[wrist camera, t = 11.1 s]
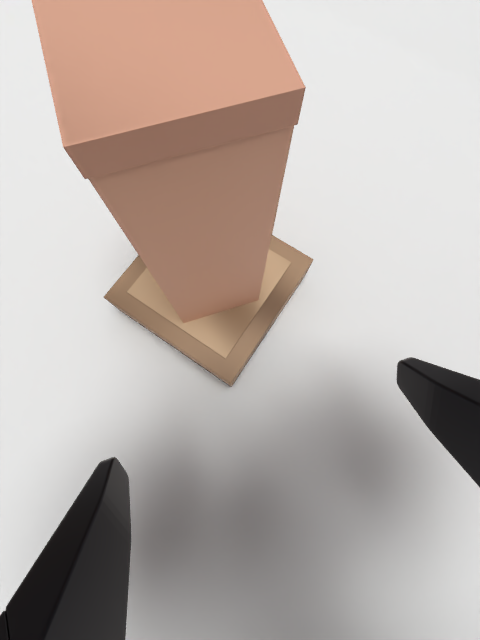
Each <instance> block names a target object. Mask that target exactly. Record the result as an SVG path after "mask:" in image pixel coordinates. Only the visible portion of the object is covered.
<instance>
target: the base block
mask: <svg viewBox="0 0 480 640" xmlns="http://www.w3.org/2000/svg"><path fill="white" fill-rule="evenodd" d="M312 261H313V259H312V258H310V257H308V256H307V255H305V254H303V253H302V252H300V251H298V250H296V249H295V248H293V247H291V246H290V245H288V244H286V243H285V242H283V241H281V240H280V239H278V238H276V237H275V236H273V235H272V236H271V241H270V246H269V251H268V256H267V261H266V266H265V271H264V276H263V281H262V285H261V290H260V295H259V300H257V301H254V302H251V303H248V304H244V305H241V306H238V307H235V308H231V309H228V310H225V311H222V312H218V313H215V314H212V315H209V316H205V317H202V318H199V319H196V320H192V321H189V322H186V323H183V321H182V320H181V318H180V317H179V315H178V314H177V312H176V311H175V309H174V308H173V306H172V305H171V303H170V302H169V300H168V299H167V297H166V295H165V294H164V292H163V291H162V289H161V288H160V286H159V285H158V283H157V282H156V280H155V279H154V277H153V276H152V274H151V273H150V271H149V270H148V268H147V267H146V265H145V264H144V262H143V261H142V259H141V258H140V256H139V255H138V257H137V258H136V259H135V260H134V261H133V263H132V264H131V265H130V266H129V267H128V269H127V270H126V271H125V272H124V273H123V274H122V276H121V277H120V278H119V279H118V280H117V282H116V283H115V284H114V285H113V286H112V288H111V289H110V290H109V291H108V292H107V294H106V295H105V296H104V298H105V299H106V300H108V301H109V302H110V303H111V304H113V305H114V306H115V307H116V308H118V309H119V310H120V311H122V312H123V313H125V314H126V315H128V316H129V317H130V318H132V319H133V320H135V321H136V322H138V323H139V324H141V325H142V326H144V327H145V328H146V329H148V330H149V331H151V332H152V333H154V334H155V335H157V336H158V337H160V338H161V339H162V340H164V341H165V342H167V343H168V344H170V345H171V346H173V347H174V348H176V349H177V350H178V351H180V352H181V353H183V354H184V355H186V356H187V357H189V358H190V359H192V360H193V361H194V362H196V363H197V364H199V365H200V366H202V367H203V368H205V369H206V370H208V371H209V372H210V373H212V374H213V375H215V376H216V377H218V378H219V379H221V380H222V381H224V382H225V383H226V384H228V385H229V386H231V387H232V385H233V383H234V382H235V380H236V379H237V377H238V376H239V374H240V373H241V371H242V370H243V368H244V367H245V365H246V364H247V362H248V361H249V359H250V358H251V356H252V355H253V353H254V352H255V350H256V349H257V347H258V346H259V344H260V343H261V341H262V340H263V338H264V337H265V335H266V334H267V332H268V331H269V329H270V328H271V326H272V325H273V323H274V322H275V320H276V319H277V317H278V316H279V314H280V313H281V311H282V310H283V308H284V307H285V305H286V304H287V302H288V301H289V299H290V298H291V296H292V294H293V293H294V291H295V290H296V288H297V287H298V285H299V284H300V282H301V281H302V279H303V278H304V276H305V275H306V273H307V271H308V269H309V267H310V265H311V263H312Z"/></svg>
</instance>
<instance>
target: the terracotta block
mask: <svg viewBox="0 0 480 640" xmlns="http://www.w3.org/2000/svg"><path fill="white" fill-rule="evenodd" d="M32 4H33V8H34V13H35V18H36V22H37V27H38V32H39V36H40V41H41V46H42V50H43V55H44V60H45V64H46V69H47V73H48V78H49V83H50V87H51V92H52V97H53V101H54V106H55V111H56V115H57V120H58V124H59V129H60V134H61V138H62V143H63V147H64V149H65V150H66V152H67V153H68V155H69V156H70V158H71V159H72V161H73V162H74V164H75V165H76V167H77V168H78V169H79V171H80V172H81V174H82V175H83V177H84V178H85V179H87V178H88V179H89V180H90V182H91V183H92V185H93V186H94V188H95V189H96V191H97V192H98V194H99V195H100V197H101V198H102V200H103V201H104V203H105V205H106V206H107V208H108V209H109V211H110V212H111V214H112V215H113V217H114V218H115V220H116V221H117V223H118V224H119V226H120V227H121V229H122V230H123V232H124V233H125V235H126V236H127V238H128V239H129V241H130V242H131V244H132V245H133V247H134V248H135V250H136V252H137V253H138V255H139V256H140V258H141V259H142V261H143V262H144V264H145V265H146V267H147V268H148V270H149V271H150V273H151V274H152V276H153V277H154V279H155V280H156V282H157V283H158V285H159V286H160V288H161V289H162V291H163V292H164V294H165V295H166V297H167V299H168V300H169V302H170V303H171V305H172V306H173V308H174V309H175V311H176V312H177V314H178V315H179V317H180V318H181V320H182V321H183V323H186V322H189V321H192V320H196V319H199V318H202V317H205V316H209V315H212V314H215V313H218V312H222V311H225V310H228V309H231V308H235V307H238V306H241V305H244V304H248V303H251V302H254V301H257V300H259V295H260V290H261V285H262V281H263V276H264V271H265V266H266V261H267V256H268V251H269V246H270V241H271V236H272V231H273V227H274V222H275V217H276V212H277V207H278V202H279V197H280V192H281V187H282V182H283V177H284V173H285V168H286V163H287V158H288V153H289V148H290V143H291V138H292V133H293V128H294V125H297V124H298V120H299V115H300V111H301V106H302V101H303V97H304V92H305V86H304V84H303V82H302V80H301V78H300V76H299V74H298V72H297V70H296V67H295V65H294V63H293V61H292V59H291V57H290V55H289V53H288V51H287V49H286V47H285V45H284V43H283V41H282V39H281V37H280V35H279V33H278V31H277V29H276V27H275V25H274V23H273V21H272V19H271V17H270V15H269V13H268V11H267V9H266V7H265V5H264V3H263V1H262V0H32Z"/></svg>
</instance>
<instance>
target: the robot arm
mask: <svg viewBox="0 0 480 640" xmlns="http://www.w3.org/2000/svg"><path fill="white" fill-rule="evenodd" d="M397 384H398V386H399V388H400V389H401V391H402V392H403V394H404V395H405V396H406V398H407V399H408V401H409V402H410V403H411V405H412V406H413V408H414V409H415V410H416V412H417V413H418V415H419V416H420V417H421V419H422V420H423V422H424V423H425V424H426V426H427V427H428V428H429V429H430V431H431V432H432V433H433V434H434V435H435V437H436V438H437V439H438V440H439V441H440V442H441V443H442V445H443V446H444V447H445V448H446V449H447V450H448V451H449V453H450V454H451V455H452V456H453V457H454V458H455V459H456V461H457V462H458V463H459V464H460V465H461V466H462V467H463V469H464V470H465V471H466V472H467V473H468V474H469V475H470V477H471V478H472V479H473V480H474V481H475V482H476V483H477V485H478V486H479V487H480V380H479V379H476V378H473V377H470V376H467V375H464V374H461V373H458V372H455V371H452V370H449V369H446V368H443V367H440V366H437V365H434V364H431V363H428V362H425V361H422V360H419V359H416V358H411V357H410V358H406V359H404V360H401V361H399V362H398V365H397ZM130 550H131V518H130V496H129V479H128V475H127V473H126V471H125V470H124V468H123V467H122V465H121V464H120V462H119V461H118V459H117V458H115V457H112V458H110V459H107V460H104V461H101V462H100V463H99V464H98V466H97V467H96V469H95V471H94V472H93V474H92V475H91V477H90V478H89V480H88V481H87V483H86V484H85V486H84V487H83V489H82V491H81V492H80V494H79V495H78V497H77V498H76V500H75V501H74V503H73V504H72V506H71V508H70V509H69V511H68V512H67V514H66V515H65V517H64V518H63V520H62V521H61V523H60V524H59V526H58V528H57V529H56V531H55V532H54V534H53V535H52V537H51V538H50V540H49V541H48V543H47V545H46V546H45V548H44V549H43V551H42V552H41V554H40V555H39V557H38V558H37V560H36V561H35V563H34V565H33V566H32V568H31V569H30V571H29V572H28V574H27V575H26V577H25V578H24V580H23V582H22V583H21V585H20V586H19V588H18V589H17V591H16V592H15V594H14V595H13V597H12V598H11V600H10V602H9V603H8V605H7V606H6V611H3V612H2V614H1V615H0V640H125V635H126V618H127V601H128V584H129V567H130Z"/></svg>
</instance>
